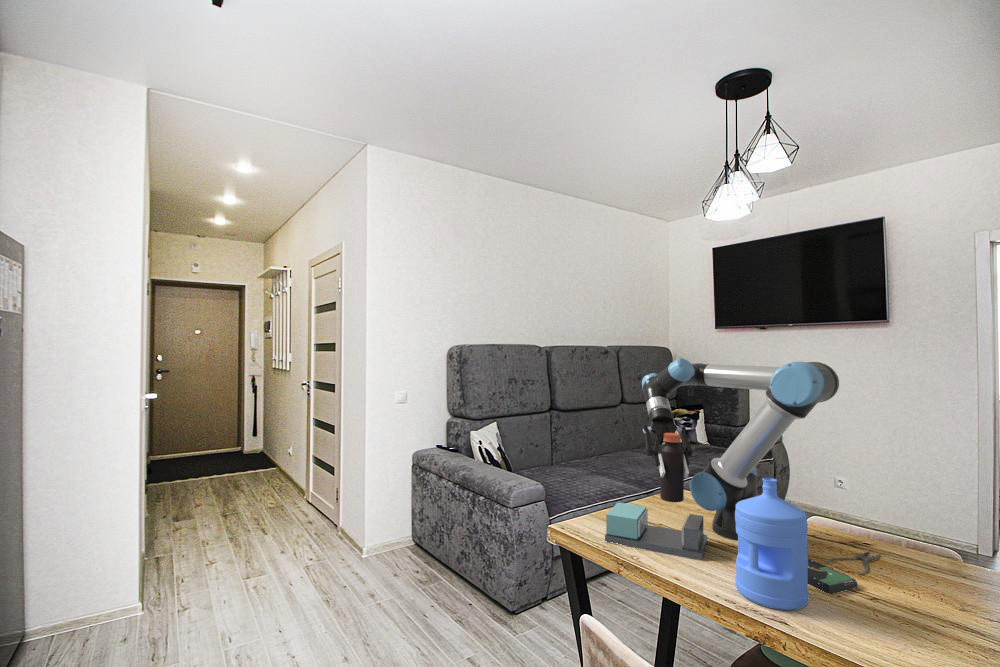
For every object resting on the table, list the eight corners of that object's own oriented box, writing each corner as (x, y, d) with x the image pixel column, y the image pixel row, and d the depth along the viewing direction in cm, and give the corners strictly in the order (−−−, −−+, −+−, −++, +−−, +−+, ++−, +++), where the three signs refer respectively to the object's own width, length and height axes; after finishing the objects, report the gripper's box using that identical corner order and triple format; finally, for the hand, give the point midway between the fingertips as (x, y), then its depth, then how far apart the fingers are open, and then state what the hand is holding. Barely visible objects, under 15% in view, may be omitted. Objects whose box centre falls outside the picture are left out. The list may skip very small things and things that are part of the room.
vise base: (707, 541, 154) (707, 515, 154) (701, 560, 140) (701, 532, 140) (618, 525, 167) (618, 502, 167) (604, 541, 153) (604, 515, 153)
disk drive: (776, 572, 134) (831, 596, 120) (776, 561, 134) (830, 585, 120) (802, 566, 138) (858, 589, 124) (802, 556, 138) (858, 578, 124)
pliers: (822, 563, 137) (841, 544, 151) (822, 566, 137) (842, 547, 151) (864, 575, 130) (881, 554, 144) (864, 578, 130) (881, 557, 144)
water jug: (761, 575, 131) (760, 469, 132) (823, 602, 117) (821, 483, 118) (721, 587, 124) (720, 475, 125) (781, 618, 110) (780, 491, 111)
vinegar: (685, 498, 153) (685, 433, 153) (681, 504, 147) (681, 436, 148) (663, 494, 156) (663, 431, 157) (658, 500, 150) (658, 434, 151)
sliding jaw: (648, 525, 161) (648, 506, 162) (638, 539, 149) (638, 519, 149) (617, 520, 166) (617, 502, 166) (606, 533, 154) (606, 514, 154)
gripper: (686, 420, 167) (704, 482, 150) (629, 420, 168) (640, 480, 151) (691, 406, 162) (710, 468, 145) (632, 406, 163) (644, 467, 146)
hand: (674, 474), depth 148 cm, fingers closed on vinegar, 6 cm apart
